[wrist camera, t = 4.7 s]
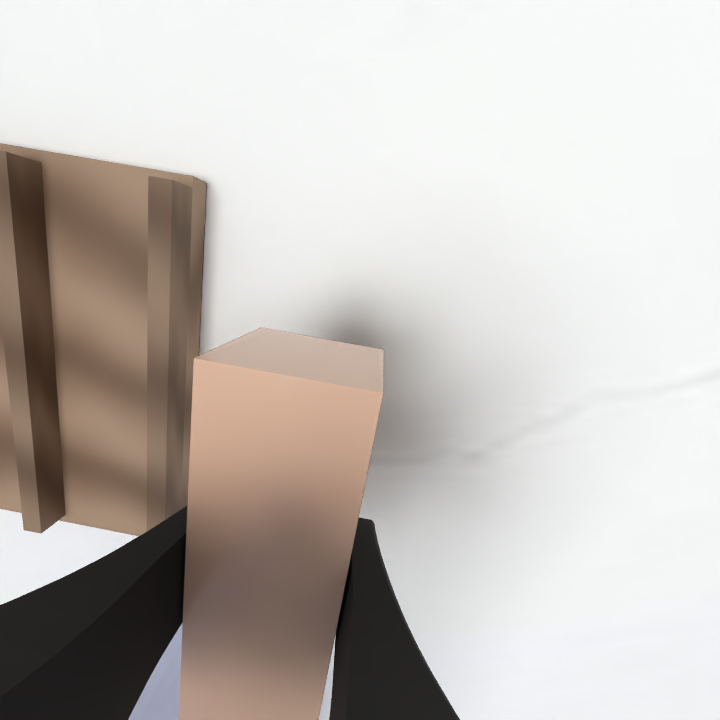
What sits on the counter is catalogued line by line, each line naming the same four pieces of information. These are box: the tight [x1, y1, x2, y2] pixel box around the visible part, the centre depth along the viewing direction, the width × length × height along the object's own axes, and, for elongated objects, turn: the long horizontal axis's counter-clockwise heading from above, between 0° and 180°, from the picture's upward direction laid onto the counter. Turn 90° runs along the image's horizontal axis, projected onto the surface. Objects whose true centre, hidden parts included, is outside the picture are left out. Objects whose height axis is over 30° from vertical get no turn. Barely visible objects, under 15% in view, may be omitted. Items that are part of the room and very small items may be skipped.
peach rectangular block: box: [178, 328, 384, 720], centre depth 11 cm, size 12×4×4 cm, turn 170°
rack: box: [0, 143, 207, 536], centre depth 18 cm, size 20×15×3 cm
